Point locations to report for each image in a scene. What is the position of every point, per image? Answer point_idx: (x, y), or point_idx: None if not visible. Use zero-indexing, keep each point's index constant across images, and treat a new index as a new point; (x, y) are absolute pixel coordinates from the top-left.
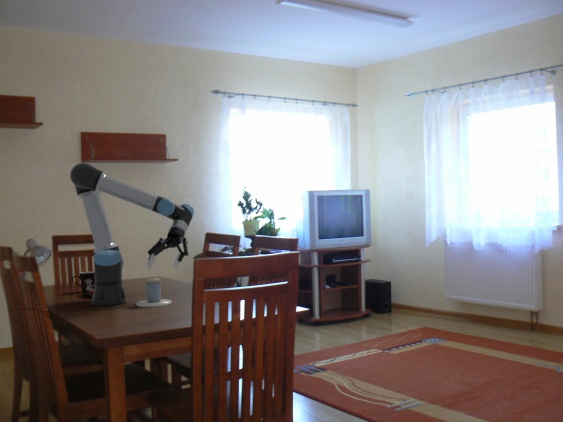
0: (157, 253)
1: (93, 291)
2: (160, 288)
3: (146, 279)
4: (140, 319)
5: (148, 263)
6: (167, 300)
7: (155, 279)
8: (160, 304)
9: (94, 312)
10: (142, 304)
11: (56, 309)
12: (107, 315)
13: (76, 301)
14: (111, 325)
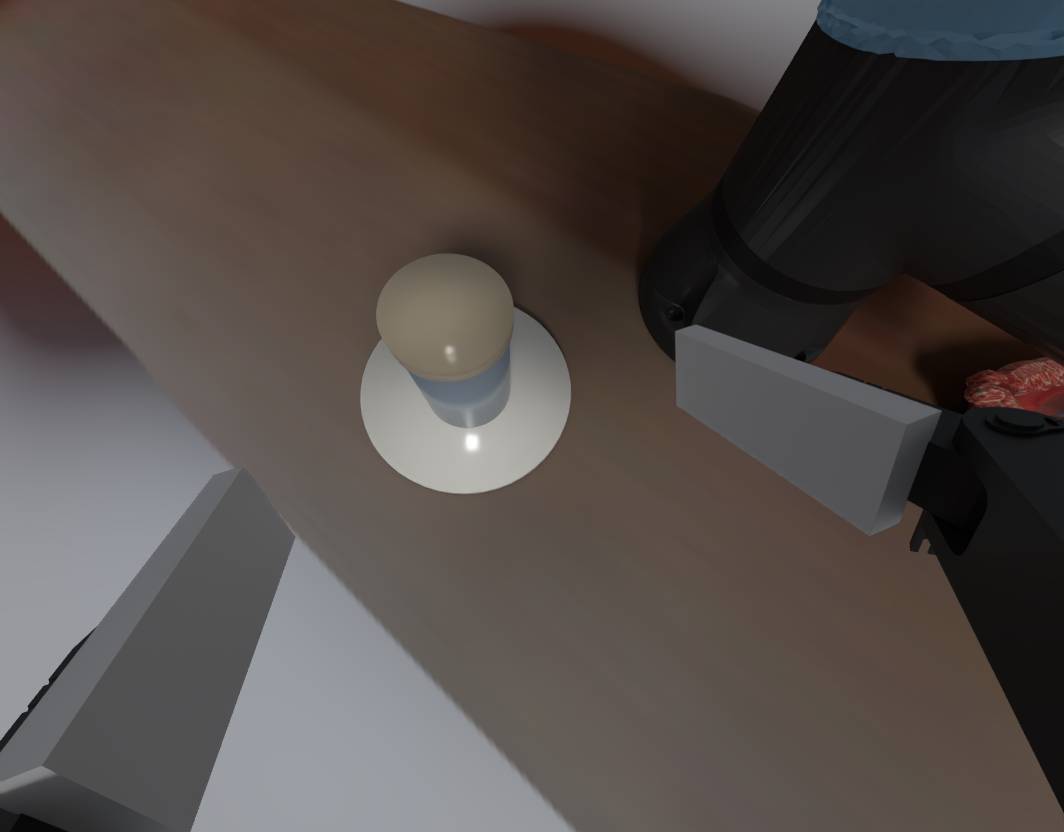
0: (980, 599)
1: (1044, 358)
2: (417, 384)
3: (478, 266)
4: (204, 115)
5: (696, 335)
6: (428, 463)
7: (394, 295)
8: (372, 358)
9: (541, 137)
10: None
11: None
12: (421, 118)
13: None
14: (233, 22)
